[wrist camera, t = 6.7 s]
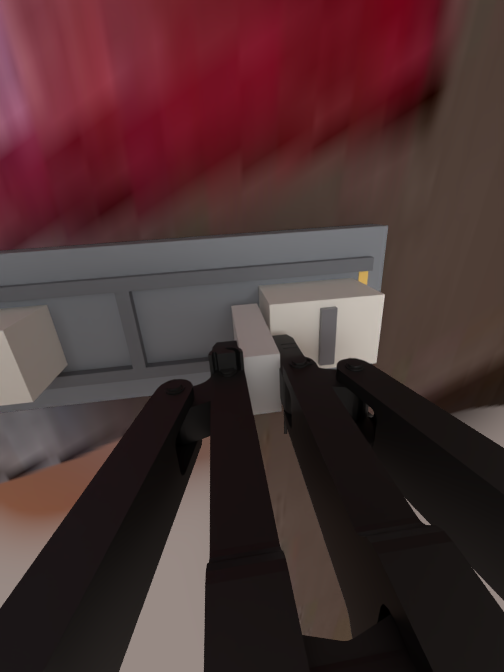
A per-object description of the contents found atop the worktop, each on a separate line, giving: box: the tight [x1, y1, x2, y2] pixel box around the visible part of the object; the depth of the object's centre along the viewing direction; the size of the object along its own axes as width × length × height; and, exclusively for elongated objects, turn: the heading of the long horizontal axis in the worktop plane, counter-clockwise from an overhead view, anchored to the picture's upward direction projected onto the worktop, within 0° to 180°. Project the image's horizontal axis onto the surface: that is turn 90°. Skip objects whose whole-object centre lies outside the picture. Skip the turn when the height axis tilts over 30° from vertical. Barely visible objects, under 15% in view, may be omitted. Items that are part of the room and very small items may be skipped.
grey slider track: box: [0, 224, 388, 413], centre depth 19 cm, size 32×10×3 cm, turn 94°
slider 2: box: [259, 278, 385, 369], centre depth 18 cm, size 6×4×4 cm, turn 93°
